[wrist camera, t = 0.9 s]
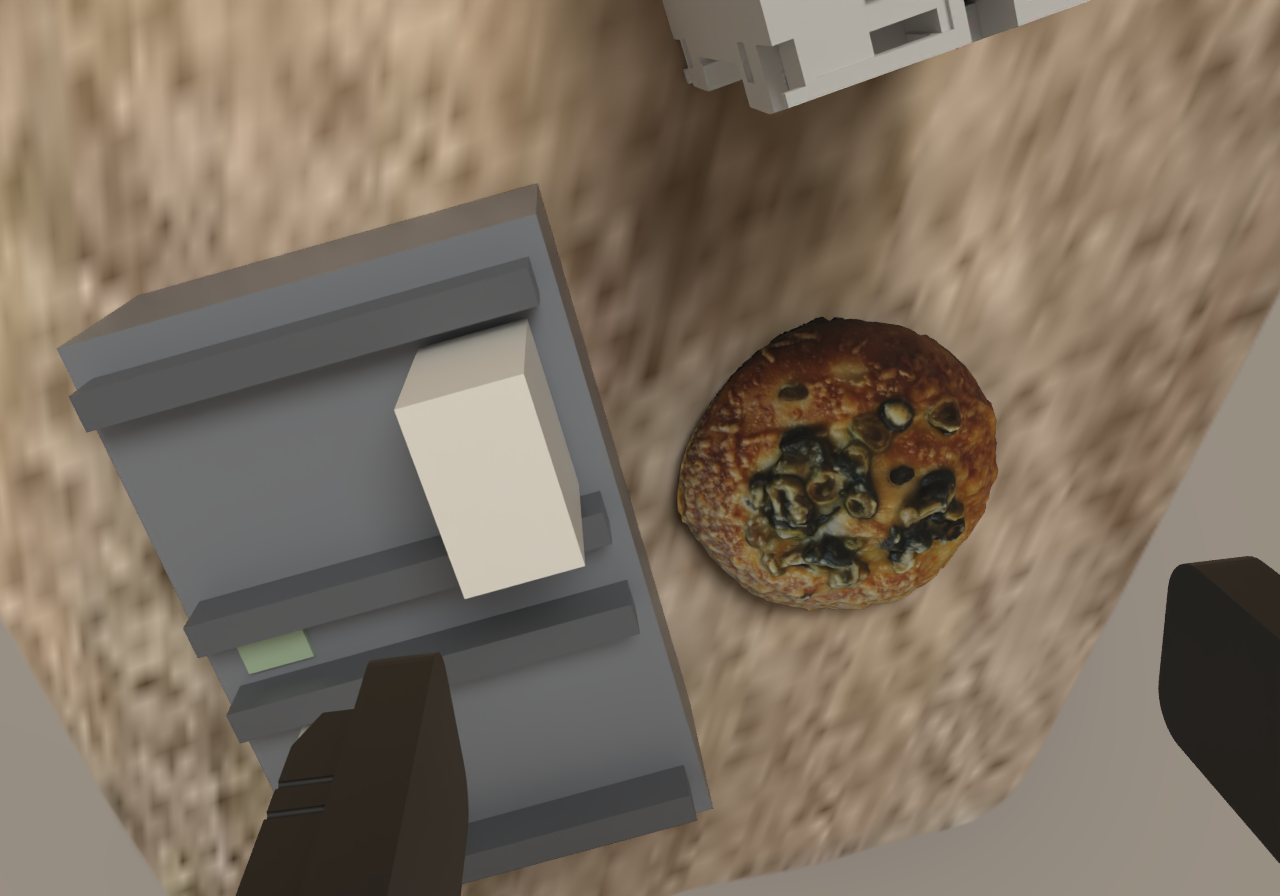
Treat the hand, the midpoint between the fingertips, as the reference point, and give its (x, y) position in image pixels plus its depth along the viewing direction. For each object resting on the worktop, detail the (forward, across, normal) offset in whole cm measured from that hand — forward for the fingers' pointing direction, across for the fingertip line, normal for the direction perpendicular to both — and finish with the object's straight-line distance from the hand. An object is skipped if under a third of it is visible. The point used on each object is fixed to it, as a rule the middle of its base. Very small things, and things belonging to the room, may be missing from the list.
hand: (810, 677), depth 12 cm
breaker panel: (+24, +8, +8) cm, 27 cm away
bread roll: (+25, -6, +8) cm, 27 cm away
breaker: (+18, +5, +3) cm, 19 cm away
